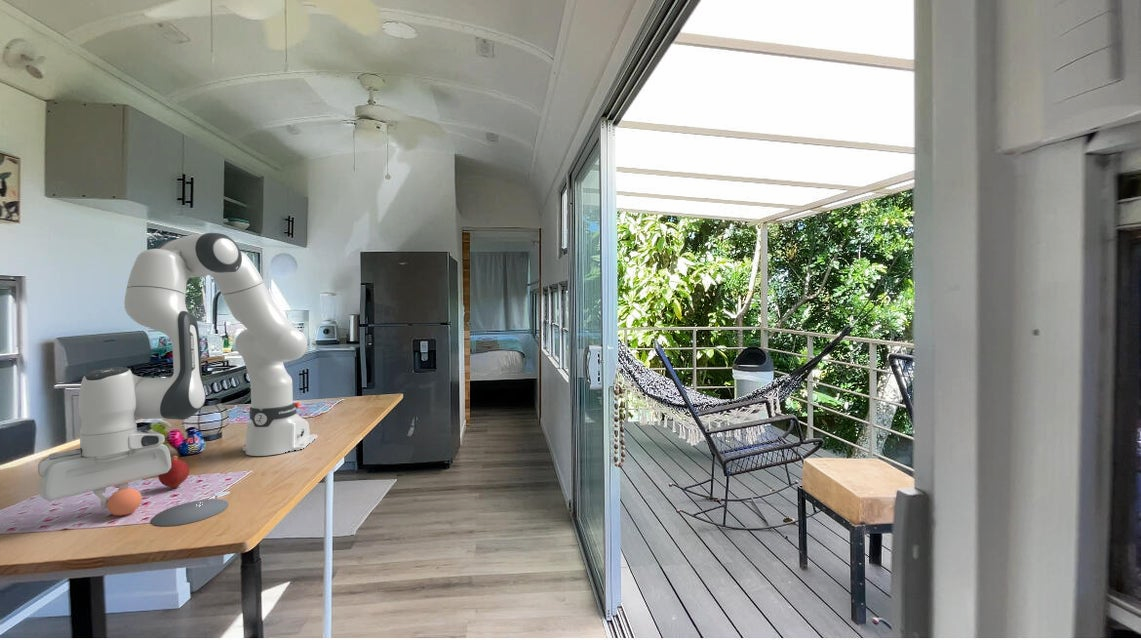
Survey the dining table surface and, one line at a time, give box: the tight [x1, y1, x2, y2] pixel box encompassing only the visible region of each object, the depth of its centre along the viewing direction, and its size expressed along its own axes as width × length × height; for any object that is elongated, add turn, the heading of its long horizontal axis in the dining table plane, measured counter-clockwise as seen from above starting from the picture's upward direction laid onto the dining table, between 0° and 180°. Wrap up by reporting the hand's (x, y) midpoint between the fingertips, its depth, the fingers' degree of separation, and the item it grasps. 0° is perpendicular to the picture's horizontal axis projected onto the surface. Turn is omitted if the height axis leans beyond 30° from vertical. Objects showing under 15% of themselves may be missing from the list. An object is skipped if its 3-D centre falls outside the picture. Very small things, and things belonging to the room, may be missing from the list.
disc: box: [151, 498, 229, 527], centre depth 101 cm, size 13×13×1 cm
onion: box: [157, 455, 190, 489], centre depth 115 cm, size 6×6×8 cm
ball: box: [106, 487, 143, 517], centre depth 100 cm, size 6×6×6 cm
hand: (111, 505), depth 101 cm, fingers closed
